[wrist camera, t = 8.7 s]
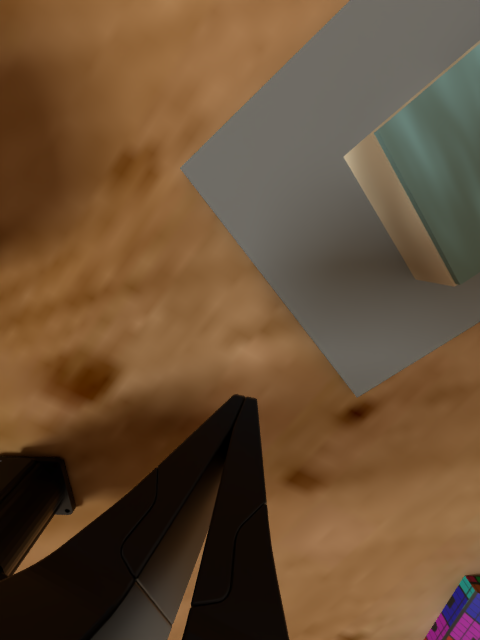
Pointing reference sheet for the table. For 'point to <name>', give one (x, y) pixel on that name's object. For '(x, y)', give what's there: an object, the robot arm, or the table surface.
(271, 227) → the rubber mat
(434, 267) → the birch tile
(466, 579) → the block puzzle
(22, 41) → the table surface
